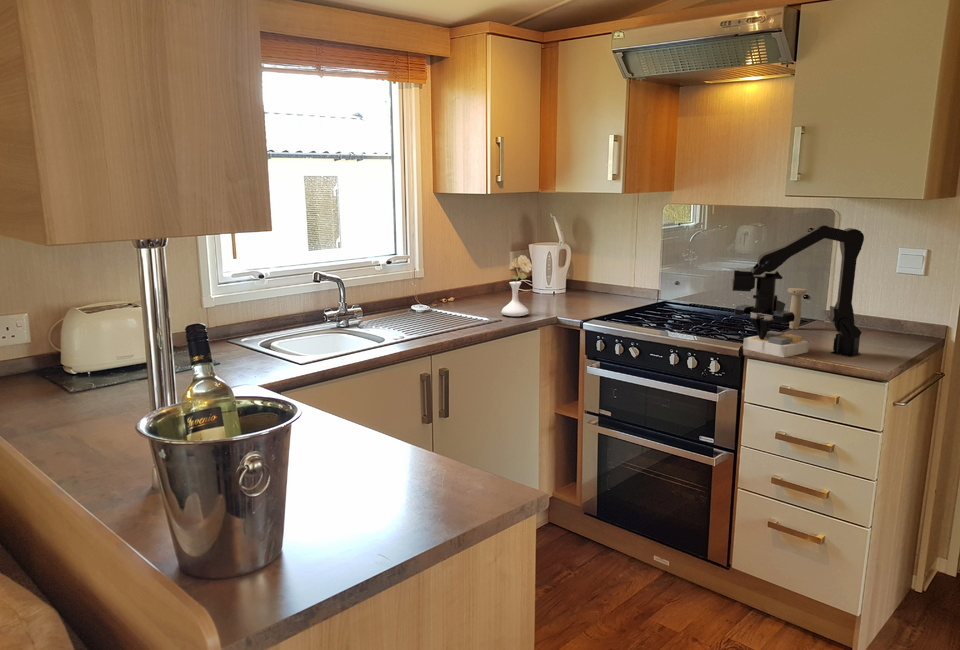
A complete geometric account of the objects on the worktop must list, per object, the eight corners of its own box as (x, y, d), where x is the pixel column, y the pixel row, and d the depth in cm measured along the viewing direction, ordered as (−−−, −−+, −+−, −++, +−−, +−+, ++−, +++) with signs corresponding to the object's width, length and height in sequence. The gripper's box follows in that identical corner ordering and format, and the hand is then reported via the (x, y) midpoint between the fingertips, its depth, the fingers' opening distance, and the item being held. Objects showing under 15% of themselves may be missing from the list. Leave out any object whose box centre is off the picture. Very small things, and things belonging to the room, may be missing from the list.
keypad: (808, 352, 237) (808, 341, 236) (783, 357, 230) (784, 346, 229) (767, 343, 249) (768, 333, 248) (743, 348, 242) (743, 338, 241)
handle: (800, 330, 271) (803, 290, 268) (782, 328, 275) (785, 288, 272) (805, 329, 274) (808, 289, 271) (788, 326, 279) (791, 287, 276)
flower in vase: (510, 319, 295) (510, 257, 290) (496, 314, 305) (496, 254, 300) (537, 316, 301) (538, 255, 296) (522, 312, 311) (523, 253, 306)
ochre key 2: (800, 345, 237) (801, 336, 237) (792, 347, 235) (793, 338, 234) (787, 342, 241) (788, 333, 240) (779, 344, 239) (780, 335, 238)
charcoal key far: (783, 341, 243) (783, 333, 242) (774, 343, 240) (775, 334, 239) (770, 339, 246) (771, 330, 246) (762, 341, 244) (762, 332, 243)
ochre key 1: (771, 348, 240) (772, 339, 239) (762, 350, 237) (763, 341, 236) (759, 346, 243) (760, 337, 243) (750, 347, 241) (751, 338, 240)
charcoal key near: (789, 347, 234) (790, 338, 233) (780, 349, 232) (781, 340, 231) (776, 345, 238) (777, 336, 237) (768, 346, 235) (768, 337, 235)
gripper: (806, 293, 233) (802, 341, 236) (755, 286, 249) (752, 332, 252) (785, 296, 227) (781, 345, 230) (734, 289, 243) (731, 335, 245)
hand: (761, 339), depth 240 cm, fingers closed, pressing on ochre key 1
